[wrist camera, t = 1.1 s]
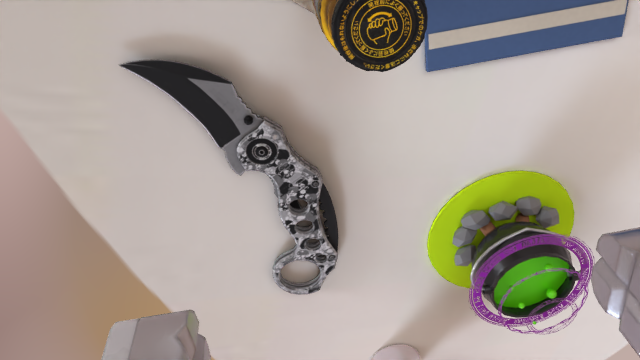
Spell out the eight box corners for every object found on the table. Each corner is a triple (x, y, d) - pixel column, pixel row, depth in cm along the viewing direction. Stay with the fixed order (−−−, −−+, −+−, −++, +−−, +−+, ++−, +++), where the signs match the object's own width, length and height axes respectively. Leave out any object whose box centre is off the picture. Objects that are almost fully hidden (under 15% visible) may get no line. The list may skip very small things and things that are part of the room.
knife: (115, 68, 38) (239, 15, 37) (121, 60, 40) (240, 8, 38) (277, 306, 54) (369, 276, 52) (277, 294, 55) (367, 265, 54)
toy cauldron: (585, 160, 49) (661, 234, 40) (560, 275, 57) (619, 359, 48) (428, 183, 49) (469, 264, 39) (426, 296, 57) (460, 385, 48)
